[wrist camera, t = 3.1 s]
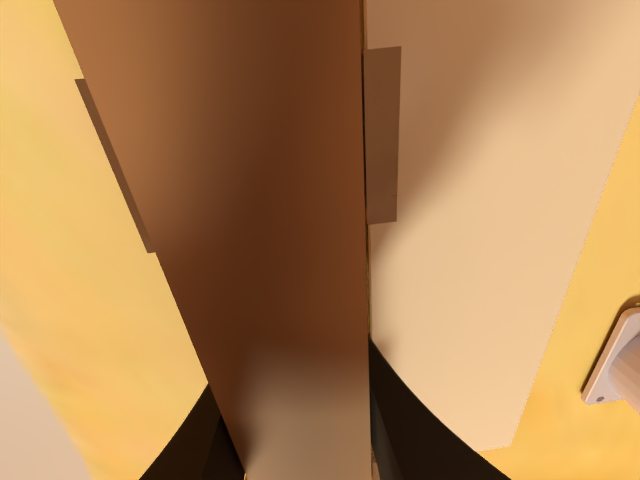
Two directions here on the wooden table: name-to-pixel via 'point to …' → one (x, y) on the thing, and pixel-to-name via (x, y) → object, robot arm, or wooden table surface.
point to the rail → (250, 205)
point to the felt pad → (493, 190)
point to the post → (377, 138)
